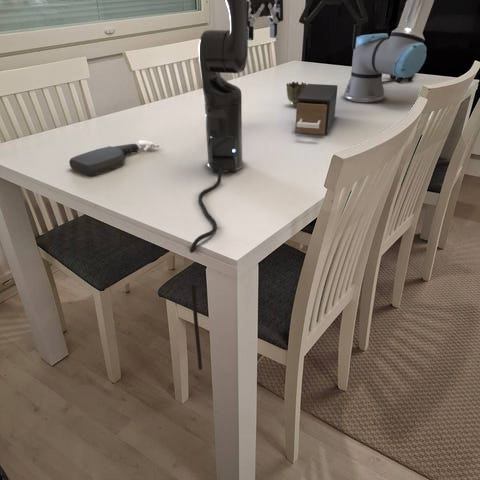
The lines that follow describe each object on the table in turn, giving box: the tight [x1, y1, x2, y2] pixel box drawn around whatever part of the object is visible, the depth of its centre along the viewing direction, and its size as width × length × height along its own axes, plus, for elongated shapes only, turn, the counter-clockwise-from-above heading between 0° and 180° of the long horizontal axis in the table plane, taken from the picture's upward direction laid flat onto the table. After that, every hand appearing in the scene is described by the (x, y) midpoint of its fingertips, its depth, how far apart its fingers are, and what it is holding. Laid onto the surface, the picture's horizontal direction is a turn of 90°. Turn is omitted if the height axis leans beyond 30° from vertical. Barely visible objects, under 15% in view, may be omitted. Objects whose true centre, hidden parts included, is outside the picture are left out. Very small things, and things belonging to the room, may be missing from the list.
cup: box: [286, 81, 308, 108], centre depth 165 cm, size 8×7×8 cm
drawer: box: [295, 101, 327, 136], centre depth 141 cm, size 24×9×9 cm, turn 163°
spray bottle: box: [68, 139, 160, 177], centre depth 124 cm, size 3×11×24 cm
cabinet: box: [294, 83, 339, 136], centre depth 146 cm, size 20×10×11 cm, turn 163°
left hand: (261, 38), depth 135 cm, fingers open, 8 cm apart
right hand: (331, 48), depth 137 cm, fingers open, 13 cm apart
